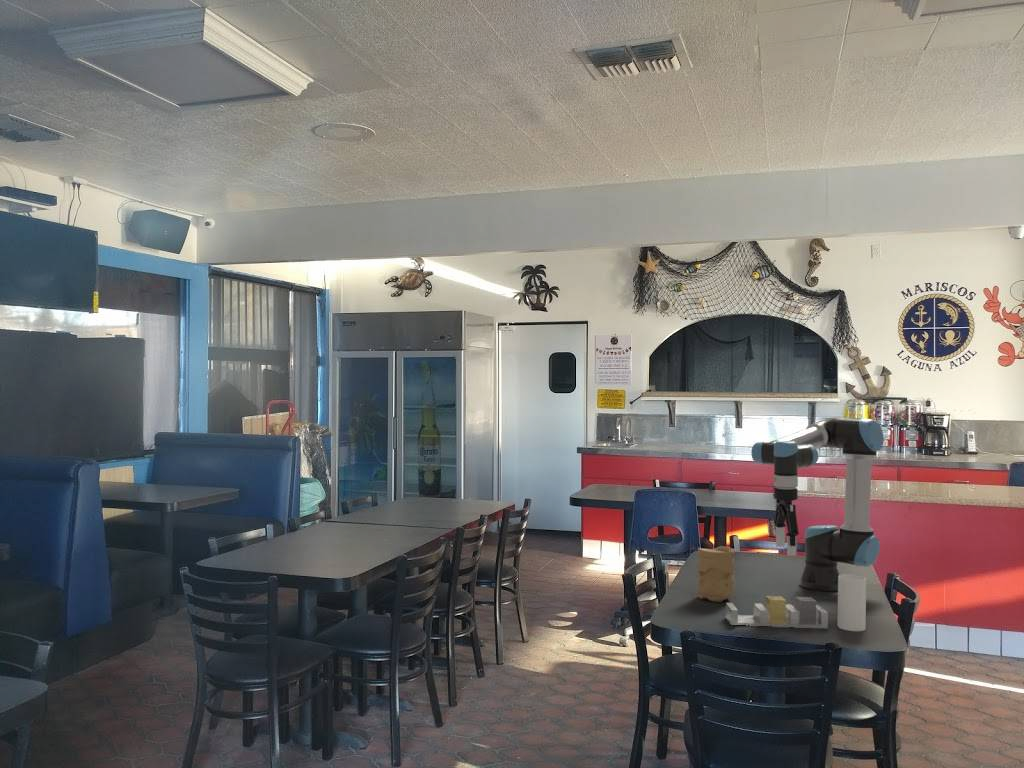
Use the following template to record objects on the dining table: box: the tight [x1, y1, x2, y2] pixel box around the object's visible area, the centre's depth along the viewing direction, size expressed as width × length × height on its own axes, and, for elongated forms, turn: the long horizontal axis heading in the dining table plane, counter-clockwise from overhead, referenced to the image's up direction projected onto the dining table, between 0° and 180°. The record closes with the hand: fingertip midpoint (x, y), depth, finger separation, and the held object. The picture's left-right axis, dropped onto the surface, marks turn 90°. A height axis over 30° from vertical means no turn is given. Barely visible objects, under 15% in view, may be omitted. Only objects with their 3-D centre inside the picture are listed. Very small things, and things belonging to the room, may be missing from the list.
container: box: [697, 545, 735, 603], centre depth 301 cm, size 13×13×18 cm
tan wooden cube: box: [765, 595, 787, 622], centre depth 272 cm, size 5×5×7 cm
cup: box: [837, 573, 867, 632], centre depth 268 cm, size 8×8×16 cm
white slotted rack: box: [725, 596, 829, 630], centre depth 272 cm, size 30×9×8 cm, turn 87°
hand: (786, 550), depth 283 cm, fingers open, 13 cm apart
